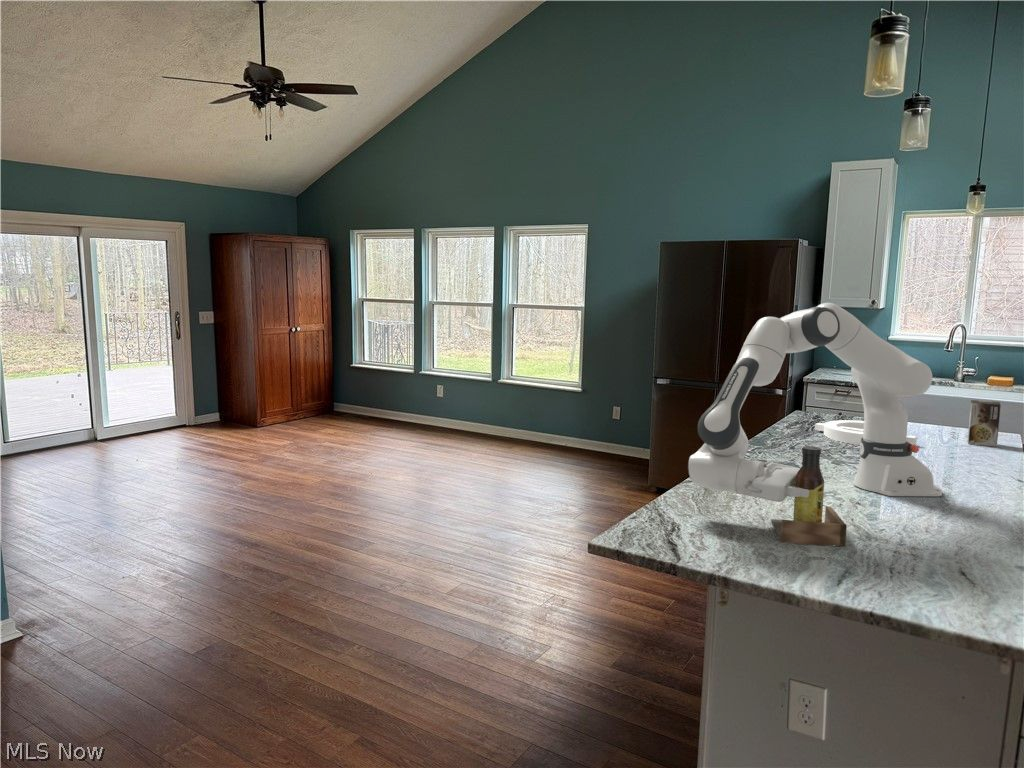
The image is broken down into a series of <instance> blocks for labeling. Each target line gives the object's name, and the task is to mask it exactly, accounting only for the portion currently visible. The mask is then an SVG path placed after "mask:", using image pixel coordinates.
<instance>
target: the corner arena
mask: <svg viewBox="0 0 1024 768" xmlns="http://www.w3.org/2000/svg"><path fill="white" fill-rule="evenodd" d="M824 510H825V514H824V522H823V521H822V522H808V521H794V520H790V519H776V518H771V520H770V523H771V525H772V527H773V528H774V529H773V530H775V533H776V532H777V533H776V535H777V534H778V535H777V536H778V538H779V540H780V543H784V542H789V543H788V544H798V543H800V544H799V545H811V544H813V545H814V544H815V545H816V546H825V545H835V546H834V547H838V546H845V547H846V539H847V524H846V523H845V522H844V521H843V519H842V518H841V517H840V516H839V514H838V513H837V512H836V511H835V510H834V509H833V507H832V506H827V505H826V506H825V509H824ZM815 545H814V546H815Z"/></svg>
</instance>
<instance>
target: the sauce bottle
mask: <svg viewBox="0 0 1024 768" xmlns="http://www.w3.org/2000/svg"><path fill="white" fill-rule="evenodd" d="M801 454H802V462H801V467H800V468H799V469H800V470H799V471H798V473H797V475H796V485H795V488H808V489H810V495H809V496H808V497H794V499H793V500H794V501H793V502H794V504H793V520H794V521H808V522H823V508H824V507H823V506H824V495H825V494H824V492H825V480H824V476H823V474H822V470H821V467H820V466H821V465H820V461H821V454H822V449H821V447H818V446H809V445H806V446H802V450H801Z"/></svg>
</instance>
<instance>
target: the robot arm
mask: <svg viewBox="0 0 1024 768" xmlns="http://www.w3.org/2000/svg"><path fill="white" fill-rule="evenodd" d="M818 347H825V348H827V350H829V351H830V352H831V353H832V354H834V355H835V356H836V357H837V358H839V359H840V360H841V361H842V362H843V363H844V364H845V365H847V366H849V367H850V368H851V370H850V373H851V377H852V380H853V381H854V382H855V383H856V385H857V387H858V390H859V392H860V396H861V400H862V401H861V402H862V405H863V411H864V412H863V417H864V419H863V421H864V431H863V437H862V438H861V443H860V445H859V456H860V459H859V462H858V463H859V464H858V467H857V472H856V474H855V477H854V480H853V482H852V484H853V486H856V487H857V488H860V489H862V490H865V491H870V492H875V493H878V494H881V495H884V496H888V497H942V496H943V491H942V489H941V488H940V487H939V486H938V485H936V484H935V483H934V476H933V472H932V471H931V469H930V468H928V467H927V465H925V464H924V463H923V462H921V461H920V460H919V459H918V458H917V457H915V455H913V453H914V454H917V453H918V452H920V447H919V446H917V445H916V444H914V445H912V444H910V443H908V442H907V441H906V436H908V434H907V433H908V424H909V417H908V416H909V415H908V413H907V411H906V410H905V409H904V407H903V406H902V404H901V400H900V397H902V398H903V397H904V398H905V397H919V396H921V395H924V393H927V391H928V390H929V388H930V387H931V385H932V382H933V373H932V369H931V368H930V366H928V365H927V364H926V363H924V362H922V361H920V360H918V359H917V358H914V357H912V356H910V355H909V354H907V353H906V352H904V351H903V350H901V349H900V348H898V347H897V346H895V345H893V344H891V343H890V342H888V341H887V340H884V339H883V338H881V337H880V336H879V335H877V334H876V333H875V332H874V331H872V330H871V329H870V328H869V327H868V326H866V325H865V324H864V323H863V322H861V321H860V320H859V319H858V318H857V317H856V316H855V315H853V314H852V313H851V312H849V311H847V310H846V309H844V308H842V307H841V306H839V305H837V304H836V303H832V302H823V303H820V304H818V305H817V306H814V307H810V308H807V309H806V308H805V309H801V310H796V311H793V312H791V313H789V314H786V315H784V316H781V317H776V316H764V317H761V318H759V319H758V320H757V321H756V323H755V324H754V325H753V326H752V328H751V330H750V331H749V333H748V334H747V336H746V339H745V341H744V342H743V345H742V347H741V350H740V352H739V355H738V356H737V359H736V362H735V363H734V364H733V366H732V367H731V370H730V371H729V373H728V375H727V377H726V378H725V380H724V383H723V384H722V386H721V389H720V390H719V392H718V395H717V396H716V398H715V400H714V401H713V403H712V404H711V405H710V407H708V408H707V409H706V410H705V411H704V413H702V414H701V416H700V418H699V419H698V422H697V433H698V436H699V438H700V439H701V440H702V441H703V442H704V443H703V444H702V446H701V447H700V448H698V450H697V451H696V452H695V453H693V454H691V455H690V456H689V458H688V460H687V461H688V462H687V471H688V475H689V479H690V480H691V481H692V483H693V484H695V485H697V486H698V487H702V488H705V489H708V490H714V491H720V492H726V491H728V492H732V493H734V494H736V495H740V496H741V495H742V496H746V497H753V498H758V499H763V500H767V501H772V502H777V503H779V502H780V503H781V502H784V501H785V500H786V499H787V497H789V498H795V497H808V496H809V495H810V489H808V488H795V485H796V475H797V473H798V471H799V470H800V468H799V467H796V466H791V465H788V464H787V465H786V464H783V463H778V462H777V463H776V462H770V460H769V459H764V458H761V459H755V460H753V459H746V456H747V454H748V450H749V443H750V442H749V440H748V437H747V434H746V432H745V430H744V429H743V427H742V425H741V420H740V413H741V412H740V411H741V409H742V407H743V405H744V403H745V401H746V399H747V397H748V395H749V393H750V391H751V389H752V387H763V386H767V385H769V384H771V383H773V382H774V380H776V377H777V376H778V374H779V373H780V371H781V368H782V365H783V363H784V360H785V358H786V355H790V354H794V353H801V352H807V351H809V350H812V349H815V348H818Z"/></svg>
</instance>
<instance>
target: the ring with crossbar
mask: <svg viewBox="0 0 1024 768" xmlns="http://www.w3.org/2000/svg"><path fill="white" fill-rule="evenodd" d="M814 430H815V431H820V432H821V431H822V432H823V436H824V435H825V436H827V437H828V438H830V439H833V440H836V441H835V442H837V441H840V442H839V443H841V442H844V443H843V444H846V443H849V444H848V445H852V444H855V446H860V443H861V438H862V437H863V431H864V420H852V419H850V420H847V419H846V420H845V419H843V420H842V419H841V420H839V419H838V420H831V421H827V422H825V423H822V422H817V423H814ZM828 438H827V439H828ZM830 439H829V440H830ZM833 440H832V441H833ZM917 440H918V437H917V436H915V435H914V436H913V435H907V436H906V441H907V442H908V443H910V444H912V445H916V444H917Z"/></svg>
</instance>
